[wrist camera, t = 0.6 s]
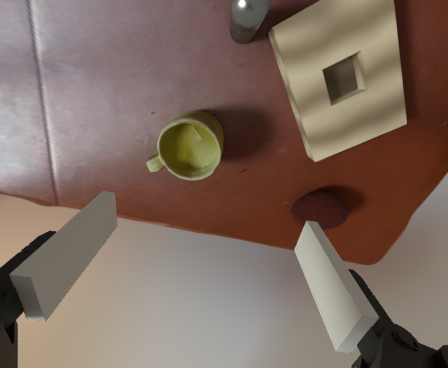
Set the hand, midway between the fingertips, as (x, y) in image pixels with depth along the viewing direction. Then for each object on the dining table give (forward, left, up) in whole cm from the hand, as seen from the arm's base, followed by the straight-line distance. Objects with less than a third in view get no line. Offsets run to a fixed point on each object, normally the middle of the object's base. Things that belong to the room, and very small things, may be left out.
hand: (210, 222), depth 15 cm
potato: (+19, +11, -24) cm, 33 cm away
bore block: (-1, +20, -24) cm, 31 cm away
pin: (-13, +10, -24) cm, 29 cm away
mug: (-2, -5, -24) cm, 25 cm away
